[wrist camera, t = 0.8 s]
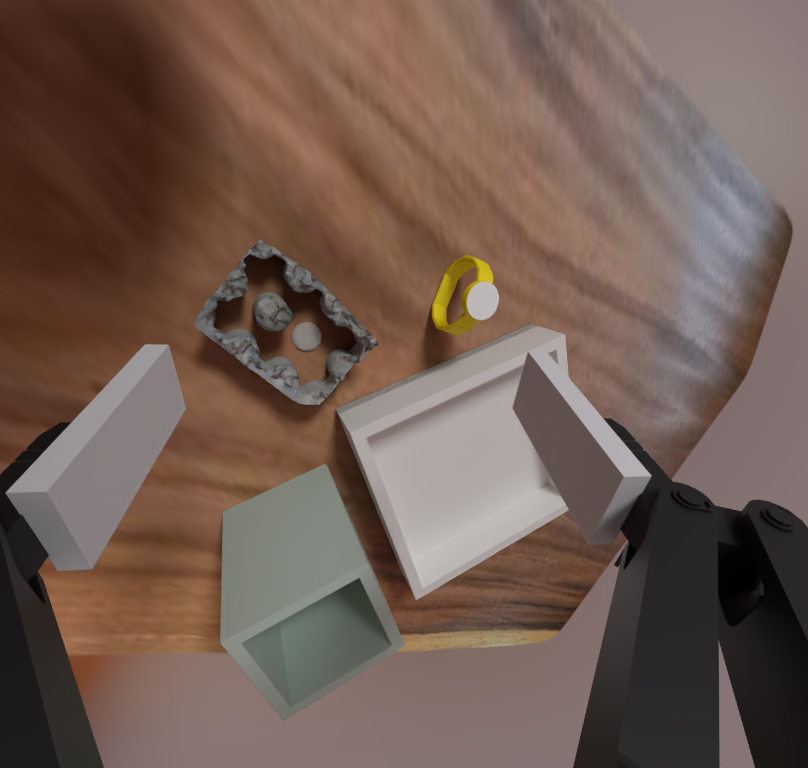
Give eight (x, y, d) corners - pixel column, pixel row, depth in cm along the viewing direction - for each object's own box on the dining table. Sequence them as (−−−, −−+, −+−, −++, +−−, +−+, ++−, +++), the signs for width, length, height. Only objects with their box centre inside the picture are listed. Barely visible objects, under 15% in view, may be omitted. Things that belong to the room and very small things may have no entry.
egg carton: (369, 332, 33) (387, 345, 29) (306, 400, 32) (316, 421, 29) (264, 230, 27) (270, 230, 24) (188, 311, 27) (182, 323, 23)
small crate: (223, 511, 33) (220, 643, 22) (326, 463, 35) (367, 562, 24) (268, 581, 37) (283, 720, 26) (357, 534, 39) (405, 645, 28)
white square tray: (335, 409, 33) (349, 432, 29) (530, 323, 38) (564, 334, 34) (398, 565, 42) (416, 600, 38) (550, 480, 47) (579, 503, 43)
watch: (442, 252, 33) (484, 250, 27) (468, 265, 34) (513, 265, 29) (417, 322, 33) (454, 333, 28) (444, 332, 35) (483, 344, 29)
